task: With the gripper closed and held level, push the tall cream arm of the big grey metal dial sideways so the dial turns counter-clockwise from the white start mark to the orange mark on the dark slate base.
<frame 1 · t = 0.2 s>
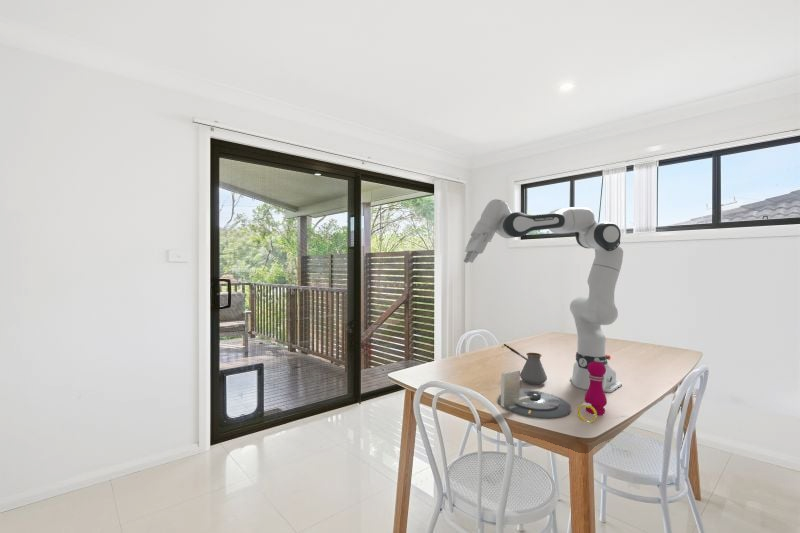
hand: (467, 262, 163), 54 cm above the table, tool tilted 25°, fingers open, 8 cm apart
coffee pot: (522, 380, 175), on the table
dial: (527, 385, 143), point 8 cm above the table, hinge at 0.0°
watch: (586, 421, 131), on the table
pepper mill: (595, 412, 139), on the table
dial base: (533, 404, 145), on the table
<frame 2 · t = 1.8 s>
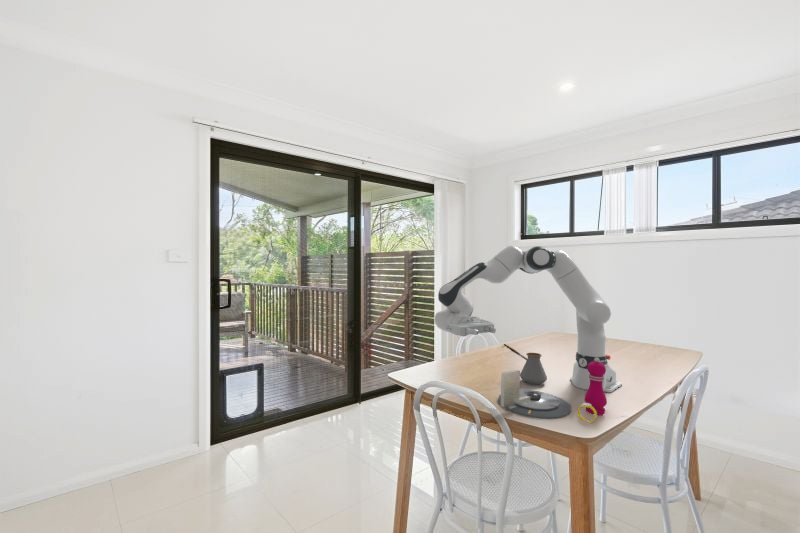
hand: (485, 331, 150), 26 cm above the table, tool horizontal, fingers open, 8 cm apart
nothing on the table moved.
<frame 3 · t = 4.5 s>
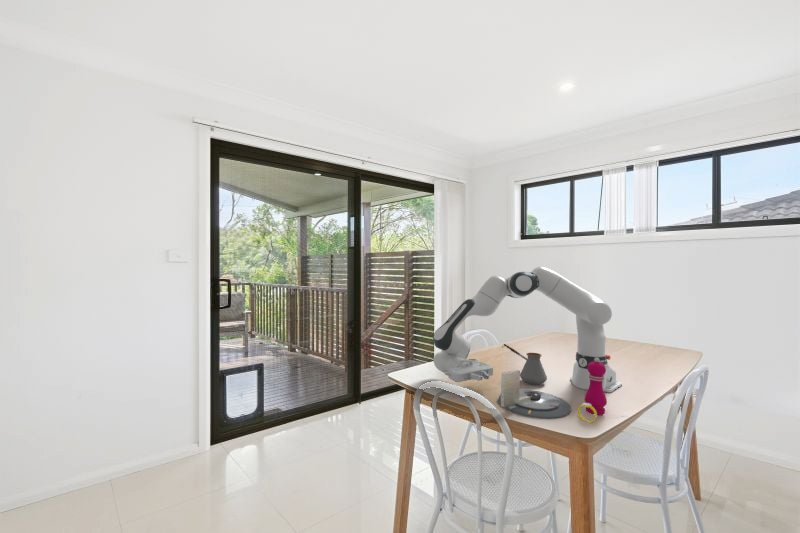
hand: (484, 377, 151), 8 cm above the table, tool horizontal, fingers closed
nothing on the table moved.
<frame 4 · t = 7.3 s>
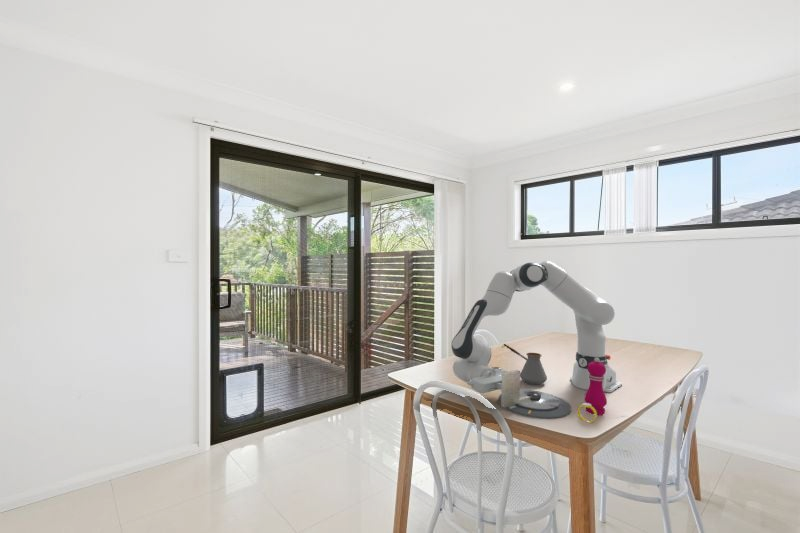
hand: (511, 388, 139), 8 cm above the table, tool horizontal, fingers closed, pressing on dial
dial: (527, 385, 143), point 8 cm above the table, hinge at 0.7°, touching gripper
everything else where it was.
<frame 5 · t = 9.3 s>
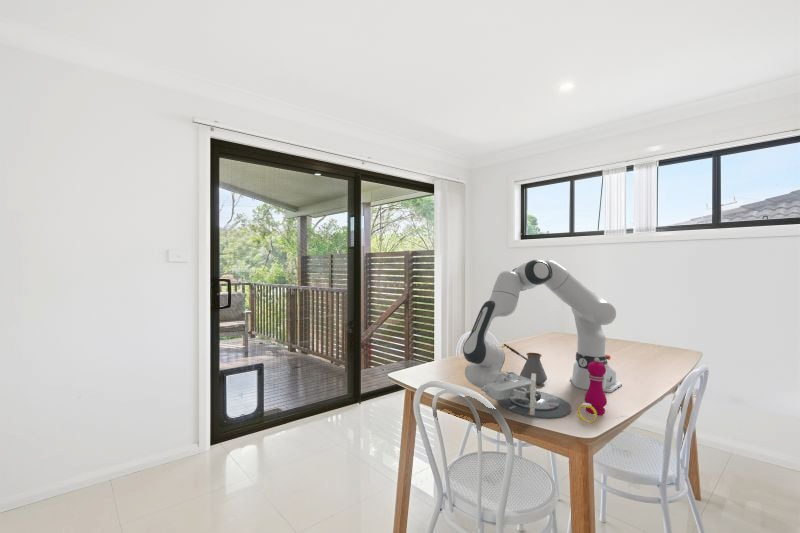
hand: (527, 395, 133), 8 cm above the table, tool horizontal, fingers closed
dial: (533, 387, 141), point 8 cm above the table, hinge at 36.9°, touching gripper
everything else where it was.
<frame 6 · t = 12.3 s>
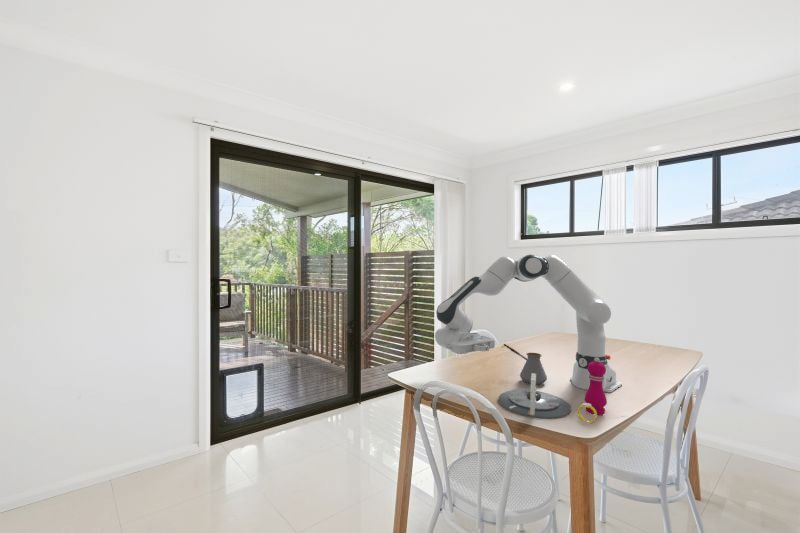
hand: (486, 349, 150), 20 cm above the table, tool horizontal, fingers closed
dial: (533, 387, 141), point 8 cm above the table, hinge at 37.0°
everything else where it was.
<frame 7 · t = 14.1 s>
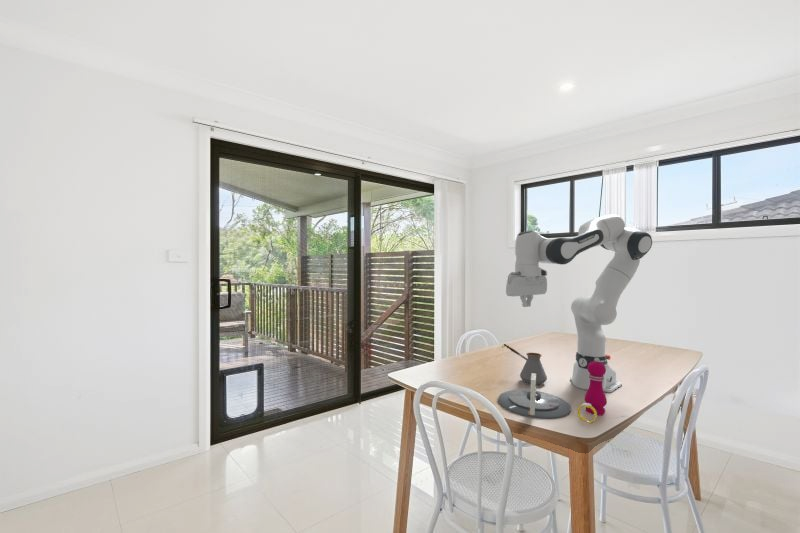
hand: (526, 306, 151), 37 cm above the table, tool pointing down, fingers closed
nothing on the table moved.
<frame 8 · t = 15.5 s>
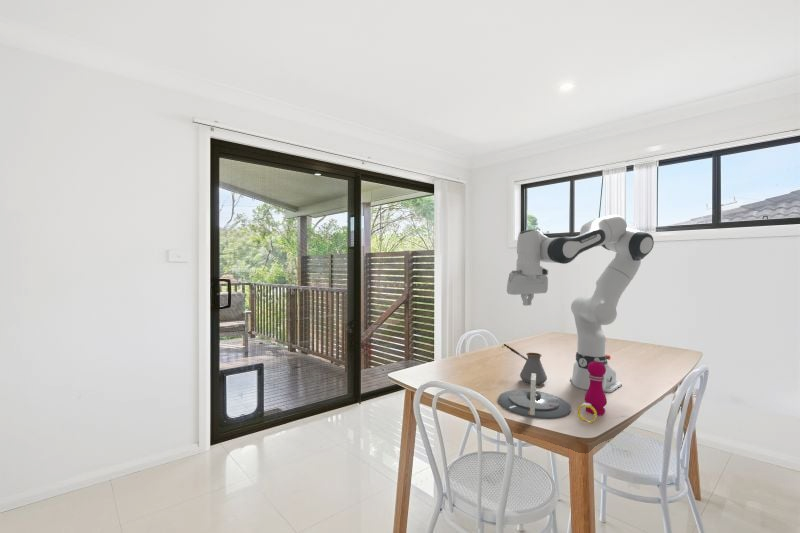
hand: (527, 305, 151), 37 cm above the table, tool pointing down, fingers closed
nothing on the table moved.
at the end: dial at +37° (first picture: +0°); the gripper is holding nothing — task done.
